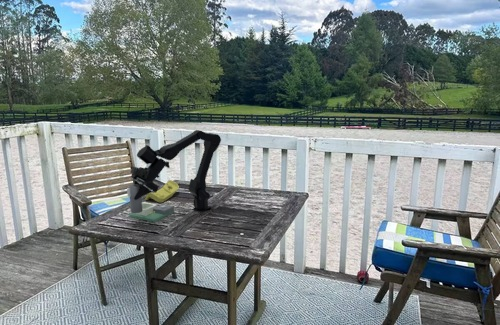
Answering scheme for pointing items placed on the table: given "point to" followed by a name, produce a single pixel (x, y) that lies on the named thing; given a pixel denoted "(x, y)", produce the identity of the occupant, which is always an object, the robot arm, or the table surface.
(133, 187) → the plug
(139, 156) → the robot arm
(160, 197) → the plastic component
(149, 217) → the header board
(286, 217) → the table surface
